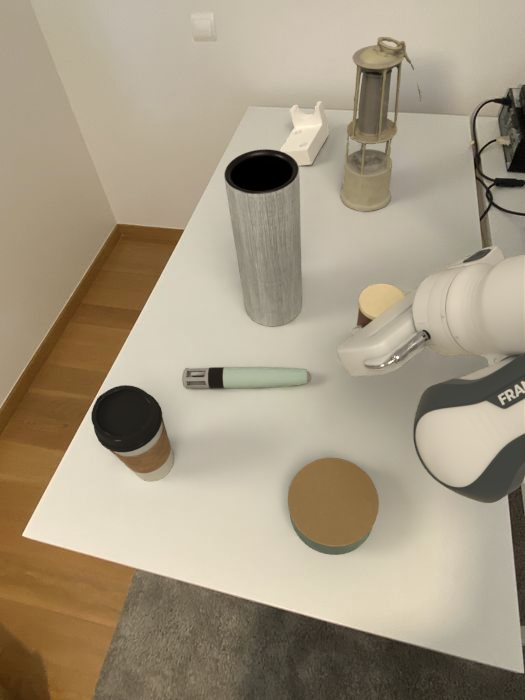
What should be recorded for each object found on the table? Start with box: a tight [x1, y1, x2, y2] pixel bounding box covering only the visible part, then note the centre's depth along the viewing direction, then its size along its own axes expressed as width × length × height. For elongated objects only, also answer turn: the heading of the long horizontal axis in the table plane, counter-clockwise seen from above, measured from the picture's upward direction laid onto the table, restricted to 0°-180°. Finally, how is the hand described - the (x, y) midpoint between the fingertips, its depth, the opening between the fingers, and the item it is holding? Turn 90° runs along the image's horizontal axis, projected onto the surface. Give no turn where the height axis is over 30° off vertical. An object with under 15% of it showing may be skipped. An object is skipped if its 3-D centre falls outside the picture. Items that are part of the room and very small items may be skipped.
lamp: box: [340, 36, 422, 213], centre depth 91 cm, size 10×13×30 cm
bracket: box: [279, 100, 330, 167], centre depth 112 cm, size 13×7×8 cm, turn 158°
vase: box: [223, 148, 303, 327], centre depth 77 cm, size 10×10×27 cm
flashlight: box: [181, 366, 312, 389], centre depth 78 cm, size 3×4×20 cm
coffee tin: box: [287, 457, 380, 556], centre depth 64 cm, size 11×11×4 cm
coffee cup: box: [90, 384, 175, 482], centre depth 66 cm, size 8×8×15 cm
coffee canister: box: [356, 283, 405, 326], centre depth 63 cm, size 6×6×8 cm
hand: (375, 318), depth 63 cm, fingers closed on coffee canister, 5 cm apart
